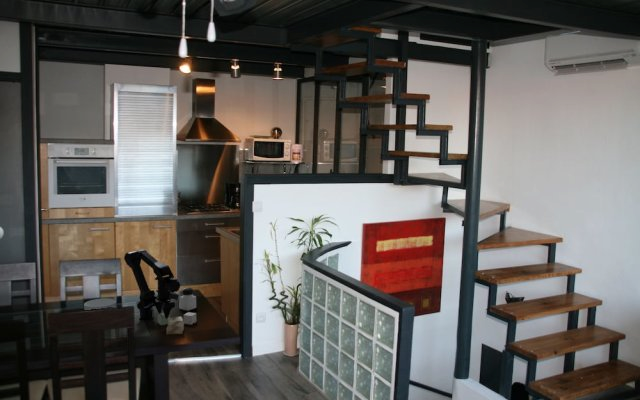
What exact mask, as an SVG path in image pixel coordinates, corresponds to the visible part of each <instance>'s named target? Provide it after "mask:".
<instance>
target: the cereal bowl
mask: <svg viewBox="0 0 640 400" xmlns="http://www.w3.org/2000/svg"><path fill="white" fill-rule="evenodd" d="M116 304H117V301H116V299H113V298H96V299H91V300H89V301H86V302H85V303H84V304H83V308H84V311H85V310H91V309H101V308H107V307H115V308H116V306H117V305H116Z"/></svg>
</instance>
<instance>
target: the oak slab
mask: <svg viewBox="0 0 640 400" xmlns="http://www.w3.org/2000/svg"><path fill="white" fill-rule="evenodd" d="M184 330H185V324H184V322H183V327H178V328H169V326H168V325H167V327H166V335H182V334H183V333H184Z"/></svg>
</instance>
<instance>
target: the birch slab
mask: <svg viewBox="0 0 640 400" xmlns="http://www.w3.org/2000/svg"><path fill="white" fill-rule="evenodd" d="M183 323H184V318H183V317H182V316H173V317H171V316H170V318H168V324H167V326H169V328H178V327H183Z"/></svg>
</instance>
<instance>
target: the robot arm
mask: <svg viewBox="0 0 640 400" xmlns="http://www.w3.org/2000/svg"><path fill="white" fill-rule="evenodd" d="M123 259H124V262H125V263H126V265H127V266H128V267H129V268H130V269H131V271H132V274H133V276H134V278H135V281H136V284H137V287H138V289H139V302H138V303H137V304H136V307H137V309H138V310H139V318H138V320H141V321H142V320H144V321H145V320H146V321H148V320H149V321H151V320H152V319H153V318H154V317H155V314H154V311H155V310H154V309H153V307H155V309H156V311H157V312H158V313H157V314H160V313H164V315H165V318H166V319H168V317H169V315H170V313H171V310H172V309H174V308H175V307H176V302H175V301H178V300H179V297H180V294H179V293H177V292H178V291H179V290H180V288H181V284H180V282H179V281H178V279H177V278H175V275H174V273H173V272H172V270H171V267H170V266H169V265H168V264H166V263H164V262H160V261H158V260H157V259H156V258H155V257H154V256H152V255H151V254H150V252H149V253H148V251H147V250H146V249H140V250H134V251H129V252H126V253H125V254H124V257H123ZM142 261H143V262H144V263H145V264H146V265H147V266H148V267H150V268H151V269H152V272H153V273H154V275H155V276H156V277H155V278H154V280H155V281H157V290H156V291H155V290H152V289H150V288H149V285H148V281H147V279H146V277H145V274H144V271H143V269H142V267H141V263H142ZM156 293H157V294H156ZM174 300H175V301H174Z"/></svg>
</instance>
